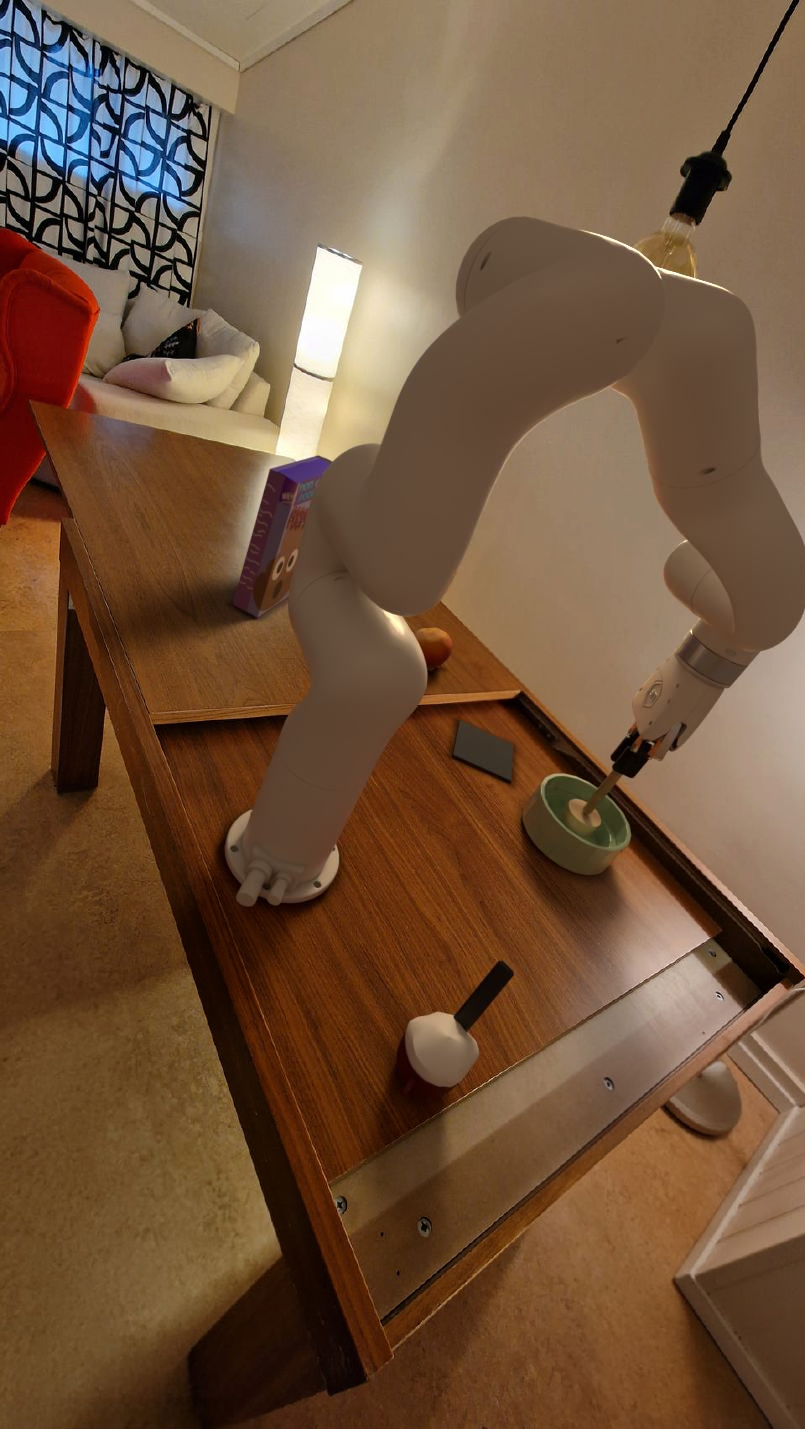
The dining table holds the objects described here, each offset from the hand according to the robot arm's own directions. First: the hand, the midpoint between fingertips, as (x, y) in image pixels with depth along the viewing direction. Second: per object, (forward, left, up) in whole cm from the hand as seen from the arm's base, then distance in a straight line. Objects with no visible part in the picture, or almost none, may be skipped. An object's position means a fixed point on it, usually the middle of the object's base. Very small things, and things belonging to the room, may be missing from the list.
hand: (621, 767), depth 83 cm
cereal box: (+29, +58, -15) cm, 67 cm away
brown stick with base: (0, 0, -11) cm, 11 cm away
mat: (+12, +14, -15) cm, 24 cm away
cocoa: (-40, +16, -15) cm, 46 cm away
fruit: (+31, +28, -15) cm, 44 cm away
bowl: (0, 0, -15) cm, 15 cm away
